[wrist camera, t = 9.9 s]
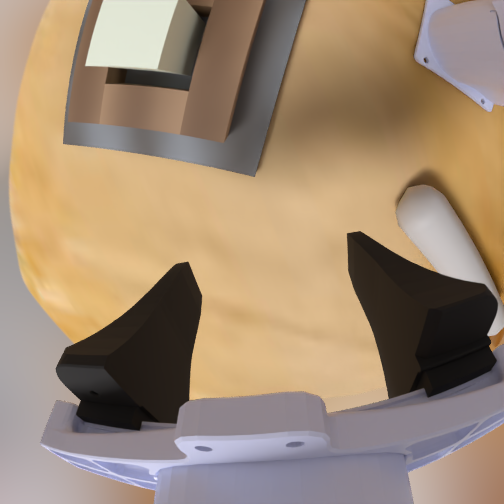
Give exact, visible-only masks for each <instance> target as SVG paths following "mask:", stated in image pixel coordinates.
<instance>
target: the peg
mask: <svg viewBox="0 0 504 504" xmlns="http://www.w3.org/2000/svg"><path fill="white" fill-rule="evenodd" d="M205 25H206V24H205V23H204V21H203V20H202V19H201V18H200V16H199V15H198V14H197V13H196V11H195V10H194V9H193V8H192V7H191V5H190V4H189V3H188V2H187V0H103V3H102V6H101V9H100V12H99V15H98V18H97V21H96V25H95V28H94V32H93V35H92V39H91V43H90V47H89V51H88V55H87V60H86V64H85V66H98V67H113V68H125V69H135V70H146V71H156V72H165V73H173V74H180V75H187V76H191V73H192V69H193V65H194V62H195V58H196V55H197V51H198V48H199V44H200V41H201V38H202V34H203V31H204V28H205Z"/></svg>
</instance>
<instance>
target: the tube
mask: <svg viewBox="0 0 504 504" xmlns="http://www.w3.org/2000/svg"><path fill="white" fill-rule="evenodd" d="M396 217H397V221H398V225H399V227H400V228H401V229H402V230H403V231H404V232H405V234H406V235H407V236H408V237H409V238H410V239H411V241H412V242H413V243H414V244H415V245H416V246H417V247H418V249H419V250H420V251H421V252H422V253H423V254H424V256H425V257H426V258H427V259H428V260H429V262H430V263H431V264H432V265H433V267H434V268H435V269H436V270H437V272H438V273H440V274H442V275H446V276H449V277H453V278H457V279H461V280H465V281H471V282H477V283H483V284H485V285H486V286H487V287H488V288H489V290H490V291H491V292H492V293H493V295H494V296H495V297H496V299H497V301H498V311H497V314H496V317H495V319H494V322H493V324H492V326H491V328H490V330H489V332H488V334H487V335H488V336H492V335H496V334H497V333H498V332H499V331H500V330H501V329H502V328H503V327H504V304H503V303H502V300H501V298H500V296H499V293H498V291H497V289H496V287H495V284H494V282H493V280H492V278H491V276H490V274H489V272H488V270H487V268H486V266H485V264H484V262H483V260H482V258H481V256H480V254H479V252H478V250H477V248H476V246H475V245H474V243H473V241H472V239H471V238H470V236H469V234H468V232H467V231H466V229H465V227H464V226H463V224H462V222H461V221H460V219H459V217H458V216H457V214H456V213H455V211H454V210H453V208H452V206H451V205H450V203H449V202H448V200H447V199H446V197H445V196H444V195H443V194H442V193H441V192H439V191H438V190H437V189H435V188H434V187H432V186H429V185H418V186H413V187H408V188H407V190H406V192H405V193H404V195H403V197H402V198H401V200H400V201H399V204H398V207H397V209H396Z"/></svg>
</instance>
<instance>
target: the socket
mask: <svg viewBox="0 0 504 504" xmlns="http://www.w3.org/2000/svg"><path fill="white" fill-rule="evenodd" d="M187 2H188V3H189V4H190V5H191V7H192V8H193V9H194V10H195V11H196V13H197V14H198V15H199V16H200V18H201V19H202V20H203V21H204V23H205V24H206V25H205V28H204V31H203V34H202V38H201V41H200V44H199V48H198V51H197V55H196V58H195V62H194V65H193V69H192V73H191V76H187V75H180V74H173V73H165V72H156V71H146V70H135V69H125V68H113V67H98V66H85V64H86V60H87V55H88V51H89V47H90V43H91V39H92V35H93V32H94V28H95V25H96V21H97V18H98V15H99V12H100V9H101V6H102V3H103V0H89V2H88V5H87V8H86V11H85V15H84V18H83V22H82V25H81V29H80V33H79V37H78V41H77V45H76V49H75V54H74V59H73V64H72V69H71V75H70V81H69V88H68V95H67V103H66V112H65V123H64V137H63V144H68V145H78V146H87V147H95V148H103V149H111V150H118V151H125V152H132V153H138V154H144V155H150V156H156V157H162V158H168V159H173V160H179V161H184V162H189V163H194V164H199V165H204V166H209V167H214V168H218V169H223V170H227V171H232V172H236V173H240V174H245V175H249V176H253V177H255V174H256V171H257V167H258V163H259V160H260V156H261V152H262V149H263V145H264V142H265V138H266V134H267V131H268V127H269V124H270V120H271V117H272V113H273V110H274V106H275V103H276V99H277V96H278V92H279V89H280V85H281V82H282V78H283V75H284V71H285V68H286V65H287V61H288V58H289V54H290V51H291V48H292V44H293V41H294V38H295V34H296V31H297V28H298V24H299V21H300V18H301V14H302V11H303V8H304V5H305V2H306V0H187Z"/></svg>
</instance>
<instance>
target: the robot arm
mask: <svg viewBox="0 0 504 504" xmlns="http://www.w3.org/2000/svg"><path fill="white" fill-rule="evenodd" d="M424 58H425V59H426V63H425V62H424ZM414 59H415V60H416V61H417V62H418V63H419V64H421V65H423V66H424V67H426V68H428V69H429V70H431V71H432V72H434V73H436V74H437V75H439V76H440V77H442V78H443V79H445V80H446V81H448V82H449V83H450V84H452V85H453V86H455V87H456V88H457V89H459V90H460V91H462V92H463V93H464V94H466V95H467V96H468V97H470V98H471V99H472V100H473V101H475V102H476V103H477V104H478V105H480V106H481V107H482V108H483V109H484V110H486V111H488V112H491V111H492V108H493V104H496V105H500V106H503V107H504V0H473V1H468V2H464V3H459V4H453V3H452V2H451V1H449V0H426V3H425V8H424V13H423V18H422V23H421V27H420V32H419V36H418V40H417V44H416V48H415V52H414ZM481 99H482V102H481ZM347 243H348V271H349V275H350V278H351V281H352V284H353V287H354V290H355V292H356V295H357V297H358V299H359V301H360V303H361V305H362V308H363V310H364V312H365V314H366V317H367V319H368V321H369V323H370V326H371V328H372V331H373V334H374V337H375V340H376V344H377V347H378V351H379V355H380V359H381V363H382V367H383V371H384V376H385V381H386V386H387V391H388V397H389V399H387V400H383V401H380V402H376V403H372V404H368V405H364V406H360V407H355V408H351V409H346V410H341V411H336V412H331V413H327V412H326V406H325V403H324V402H323V400H322V399H321V398H320V397H319V396H317V395H314V394H310V393H307V392H303V391H300V392H279V393H271V394H261V395H251V396H239V397H223V398H202V399H196V400H190V401H189V388H190V370H191V359H192V353H193V348H194V343H195V339H196V334H197V330H198V325H199V320H200V315H201V305H202V294H201V292H200V289H199V287H198V285H197V282H196V280H195V277H194V275H193V272H192V270H191V267H190V265H189V262H184V263H178V264H176V265H174V266H173V267H172V268H171V269H170V270H169V271H168V272H167V273H166V274H165V275H164V276H163V277H162V278H161V279H160V280H159V281H158V282H157V283H156V284H155V285H154V287H153V288H152V289H151V290H150V291H149V292H148V293H147V294H145V295H144V296H143V297H142V298H141V299H140V300H139V301H138V302H137V303H136V304H135V305H134V306H133V307H132V308H130V309H129V310H128V311H127V312H126V313H124V314H123V315H122V316H121V317H119V318H118V319H116V320H115V321H113V322H112V323H111V324H109V325H108V326H106V327H105V328H103V329H102V330H100V331H98V332H97V333H95V334H93V335H91V336H90V337H88V338H86V339H84V340H82V341H80V342H78V343H75V344H73V345H71V346H69V347H67V348H66V349H65V351H64V353H63V355H62V357H61V359H60V360H59V362H58V365H57V367H56V373H57V375H58V377H59V379H60V380H61V381H62V383H63V384H64V385H65V386H66V387H67V388H68V389H69V390H70V391H72V393H73V394H74V395H76V396H77V397H78V398H79V399H80V400H81V402H80V404H79V406H78V405H76V404H73V403H70V402H65V401H60V400H57V401H56V402H55V404H54V407H53V409H52V412H51V415H50V417H49V420H48V422H47V425H46V428H45V430H44V433H43V436H42V439H41V442H40V444H41V445H42V446H43V447H45V448H46V449H48V450H49V451H51V452H52V453H54V454H55V455H57V456H58V457H60V458H62V459H63V460H65V461H67V462H68V463H70V464H72V465H74V466H75V467H77V468H81V469H83V470H86V471H89V472H92V473H95V474H98V475H102V476H105V477H107V478H111V479H114V480H117V481H121V482H124V483H128V484H131V485H135V486H139V487H143V488H147V489H151V490H156V491H155V498H154V504H414V503H413V498H412V492H411V487H410V482H409V477H408V472H410V471H413V470H415V469H418V468H420V467H423V466H425V465H427V464H430V463H432V462H434V461H436V460H438V459H440V458H442V457H445V456H447V455H449V454H451V453H452V452H454V451H456V450H458V449H460V448H462V447H464V446H466V445H468V444H470V443H471V442H473V441H475V440H477V439H478V438H480V437H482V436H483V435H485V434H487V433H488V432H490V431H492V430H493V429H495V428H496V427H498V426H500V425H502V424H503V423H504V344H502V345H500V346H499V347H497V348H496V349H495V350H494V351H493V352H492V351H491V349H490V347H489V345H490V344H491V340H490V338H489V337H488V335H487V334H488V332H489V330H490V328H491V326H492V324H493V322H494V319H495V317H496V314H497V311H498V301H497V299H496V297H495V296H494V295H493V293H492V292H491V291H490V290H489V288H488V287H487V286H486V285H485V284H483V283H477V282H471V281H465V280H461V279H457V278H453V277H449V276H446V275H442V274H440V273H437V272H434V271H431V270H428V269H426V268H424V267H421V266H419V265H417V264H415V263H412V262H410V261H408V260H406V259H405V258H403V257H401V256H399V255H397V254H396V253H394V252H392V251H391V250H389V249H387V248H386V247H384V246H383V245H381V244H379V243H378V242H376V241H375V240H373V239H372V238H370V237H369V236H367V235H366V234H364V233H362V232H361V231H358V232H353V233H347Z"/></svg>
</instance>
